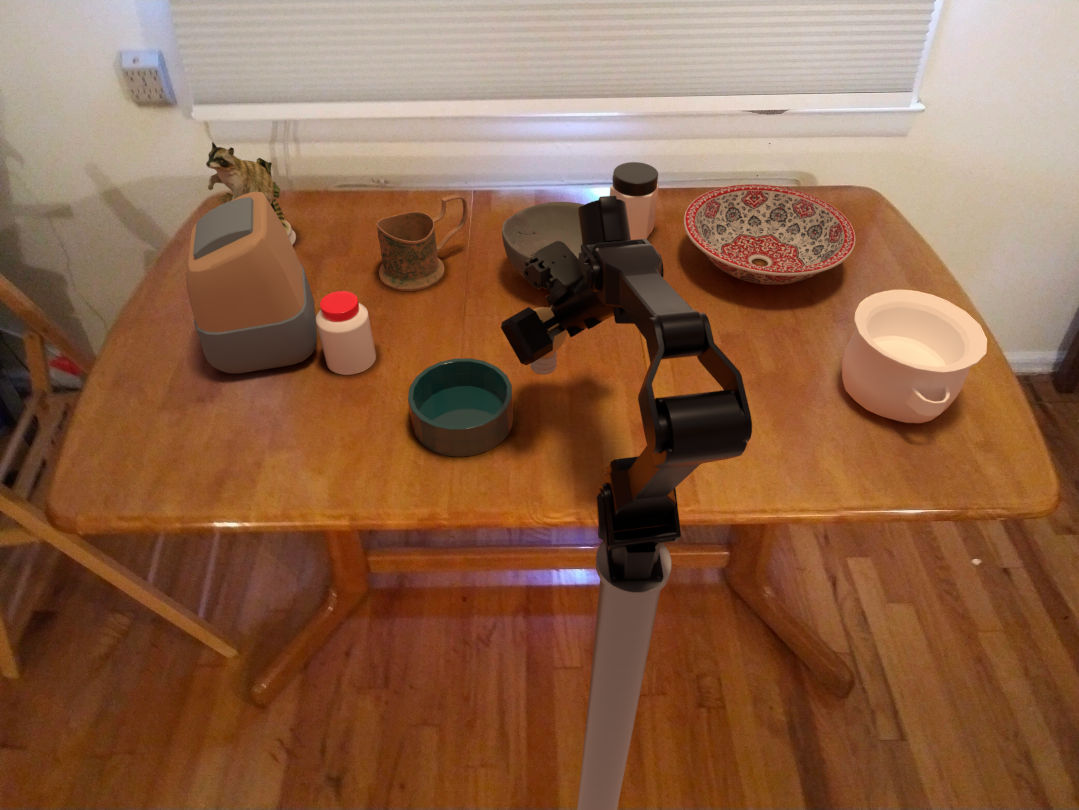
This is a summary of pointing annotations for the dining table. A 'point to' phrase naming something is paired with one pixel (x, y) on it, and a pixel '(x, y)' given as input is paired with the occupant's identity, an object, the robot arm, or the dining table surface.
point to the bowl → (541, 231)
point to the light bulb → (549, 360)
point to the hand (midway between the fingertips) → (537, 327)
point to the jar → (637, 196)
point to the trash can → (249, 289)
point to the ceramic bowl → (768, 232)
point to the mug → (413, 248)
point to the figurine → (245, 180)
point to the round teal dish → (461, 407)
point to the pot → (910, 354)
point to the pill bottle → (345, 333)
